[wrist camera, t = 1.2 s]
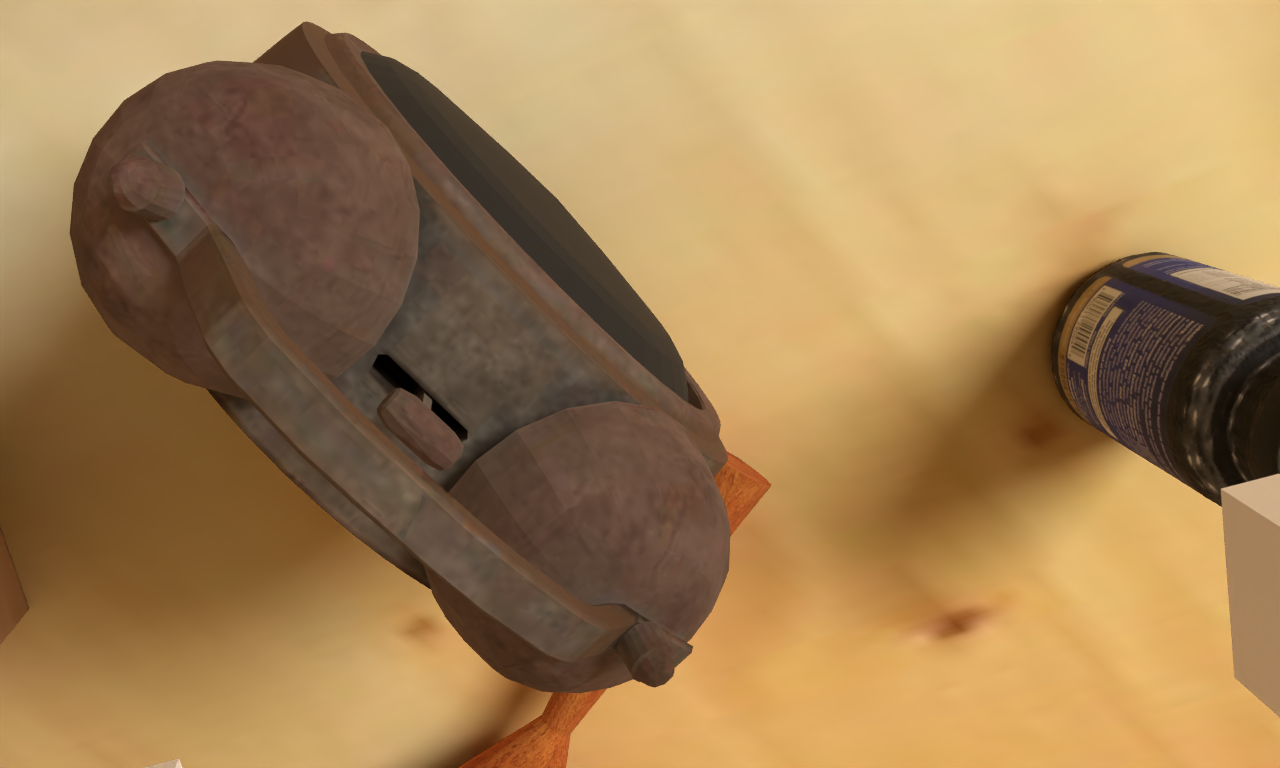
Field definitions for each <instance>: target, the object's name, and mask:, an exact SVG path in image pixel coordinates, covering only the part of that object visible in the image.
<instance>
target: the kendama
mask: <svg viewBox="0 0 1280 768" xmlns="http://www.w3.org/2000/svg"><path fill="white" fill-rule="evenodd" d="M726 453H727V456H728V461H727V462H726V464H725V465H724V466H723V467H722V468H721V470H720V471H719V472H718V473H717V474H716V476H715V477H714V479H715V482H716V484H717V486H718V488H719V491H720V493H721V495H722V498H723V500H724V502H725V505H726V509H727V514H728V519H729V524H730V536H731V535H732V533H733V532H734V531H735V530H736V528H737V527H738V526H739V525H740V523H741V522H742V521H743V520H744V519H745V517H746V516H747V515H748V514H749V512H750V511H751V510H752V509H753V507H754V506H755V505H756V504H757V503H758V501H759V500H760V499H761V498H762V496H763V495H764V494H765V493H766V491H767V490H768V489H769V488H770V486H771V484H770V483H769V482H768V481H767V479H766V478H764V477H763V476H762V475H761V474H759V473H758V472H757V471H756V470H754V469H753V468H752V467H750V466H749V465H747V464H746V463H744V462H743V461H742V460H740V459H739V458H737V457H735V456H734V455H732V454H730V453H729V452H727V451H726ZM606 689H607V688H606ZM606 689H601V690H596V691H591V692H585V693H558V692H553V694H552V696H551V698H550V700H549V702H548V704H547V706H546V708H545V710H544V712H543V714H542V715H541V716H540V717H538V718H537V719H535V720H533V721H532V722H530V723H529V724H527V725H525V726H524V727H522V728H521V729H519V730H517V731H516V732H514V733H513V734H511V735H509V736H508V737H506V738H505V739H503V740H501V741H500V742H498V743H497V744H495V745H493V746H492V747H490V748H489V749H487V750H485V751H484V752H482V753H481V754H479V755H477V756H476V757H474V758H473V759H471V760H469V761H468V762H466V763H465V764H463V765H461V766H460V767H458V768H566V763H567V756H568V748H569V741H570V733H571V732H572V731H573V730H574V728H575V727H576V726H577V725H578V724H579V722H580V721H581V720H582V719H583V717H584V716H585V715H586V714H587V712H588V711H589V710H590V709H591V707H592V706H593V705H594V704H595V703H596V701H597V700H598V699H599V698H600V696H601V695H602V694H603V693H604V691H605V690H606Z"/></svg>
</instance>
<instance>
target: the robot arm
mask: <svg viewBox="0 0 1280 768" xmlns="http://www.w3.org/2000/svg"><path fill="white" fill-rule="evenodd" d="M1221 499H1222V513H1223V527H1224V541H1225V554H1226V568H1227V582H1228V595H1229V609H1230V623H1231V636H1232V650H1233V664H1234V677H1235V678H1236V679H1237V680H1238V681H1239V682H1240V683H1241V684H1243V685H1244V686H1245V687H1246V688H1247V689H1248V690H1249V691H1251V692H1252V693H1253V694H1254V695H1255V696H1256V697H1257V698H1258V699H1260V700H1261V701H1262V702H1263V703H1264V704H1265V705H1266V706H1267V707H1269V708H1270V709H1271V710H1272V711H1273V712H1274V713H1275V714H1277V715H1278V716H1279V717H1280V474H1276V475H1272V476H1268V477H1264V478H1260V479H1256V480H1253V481H1249V482H1245V483H1241V484H1237V485H1233V486H1229V487H1226V488H1222V489H1221ZM144 768H183V767H182V765H181V762H180V760H179V759H175V760H171V761H167V762H163V763H160V764H156V765H152V766H148V767H144Z"/></svg>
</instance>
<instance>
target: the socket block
mask: <svg viewBox="0 0 1280 768" xmlns="http://www.w3.org/2000/svg"><path fill="white" fill-rule="evenodd" d="M28 609H29V607H28V604H27V602H26V599H25V596H24V593H23V590H22V588H21V585H20V582H19V579H18V577H17V574H16V571H15V568H14V565H13V563H12V560H11V557H10V554H9V551H8V549H7V546H6V543H5V540H4V538H3V535H2V532H1V529H0V644H1V643H2V642H3V641H4V639H5V638H6V637H7V636H8V634H9V633H10V632H11V630H12V629H13V628H14V627H15V625H16V624H17V623H18V622H19V620H20V619H21V618H22V617H23V615H24V614H25V613H26V612H27V610H28Z"/></svg>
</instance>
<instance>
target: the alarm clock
mask: <svg viewBox="0 0 1280 768" xmlns="http://www.w3.org/2000/svg"><path fill="white" fill-rule="evenodd" d="M70 237H71V241H72V245H73V250H74V254H75V258H76V263H77V267H78V271H79V276H80V280H81V285H82V287H83V288H84V290H85V291H86V293H87V294H88V296H89V298H90V299H91V301H92V302H93V304H94V305H95V307H96V308H97V310H98V312H99V313H100V315H101V316H102V318H103V319H104V321H105V323H106V324H107V326H108V327H109V328H110V330H111V331H112V332H113V334H114V335H116V336H117V337H118V338H120V339H121V340H122V341H124V342H125V343H126V344H128V345H129V346H130V347H132V348H133V349H134V350H136V351H137V352H138V353H140V354H141V355H142V356H144V357H145V358H146V359H148V360H149V361H150V362H152V363H153V364H155V365H156V366H157V367H159V368H160V369H161V370H163V371H164V372H165V373H167V374H169V375H171V376H173V377H175V378H177V379H179V380H181V381H184V382H186V383H189V384H192V385H196V386H200V387H203V388H206V389H207V390H208V391H209V393H210V394H211V395H212V396H213V397H214V399H215V400H216V401H217V402H218V403H219V405H220V406H221V407H222V408H223V409H224V410H225V412H226V413H227V414H228V415H229V416H230V417H231V418H232V419H233V420H234V422H235V423H236V424H237V425H238V426H239V427H240V428H241V429H242V430H243V432H244V433H245V434H246V435H247V436H248V437H249V438H250V439H251V440H252V441H253V442H254V443H255V444H256V445H257V446H258V447H259V448H260V449H261V450H262V451H263V452H264V453H265V454H266V455H267V457H268V458H269V459H270V460H271V461H272V462H273V463H274V464H275V465H276V466H277V467H278V468H279V469H280V470H281V471H282V472H283V473H284V474H285V475H286V476H287V477H288V478H290V479H291V480H292V481H293V482H294V483H295V484H296V485H297V486H298V487H299V488H301V489H302V490H303V491H304V492H305V493H306V494H307V495H308V496H309V497H310V498H312V499H313V500H314V501H315V502H316V503H317V504H318V505H319V506H320V507H321V508H323V509H324V510H325V511H326V512H327V513H328V514H329V515H330V516H332V517H333V518H334V519H335V520H336V521H338V522H339V523H340V524H341V525H342V526H344V527H345V528H346V529H347V530H349V531H350V532H351V533H352V534H353V535H355V536H356V537H357V538H358V539H360V540H361V541H362V542H364V543H365V544H366V545H367V546H369V547H370V548H371V549H373V550H374V551H375V552H377V553H378V554H379V555H381V556H382V557H383V558H385V559H386V560H387V561H389V562H390V563H392V564H393V565H395V566H396V567H397V568H399V569H400V570H402V571H403V572H405V573H406V574H407V575H409V576H410V577H412V578H413V579H415V580H417V581H418V582H420V583H421V584H423V585H425V586H426V587H428V588H429V589H431V590H432V593H433V596H434V598H435V599H436V601H437V603H438V604H439V606H440V608H441V610H442V611H443V613H444V615H445V617H446V618H447V620H448V621H449V622H450V623H451V625H452V626H453V627H454V628H455V630H456V631H457V632H458V633H459V635H460V636H461V637H462V638H463V640H464V641H465V642H466V643H467V644H468V645H469V646H470V647H471V648H472V649H473V650H474V651H475V652H476V653H477V654H478V655H479V656H480V657H481V658H482V659H483V660H484V661H486V662H487V663H488V664H489V665H490V666H491V667H492V668H493V669H494V670H495V671H497V672H498V673H500V674H501V675H502V676H504V677H505V678H507V679H510V680H512V681H515V682H518V683H520V684H523V685H526V686H528V687H531V688H534V689H537V690H540V691H542V692H558V693H585V692H591V691H596V690H601V689H606V688H611V687H614V686H617V685H620V684H622V683H625V682H627V681H630V680H632V679H634V680H636V681H638V682H642V683H644V684H646V685H648V686H651V687H657V686H660V685H663V684H665V683H666V682H667V681H668V680H669V679H670V678H671V677H672V676H673V674H674V668H675V667H676V666H677V665H678V664H679V663H681V662H682V661H683V660H684V659H685V658H686V657H687V656H688V655H689V654H691V653H692V648H693V646H691V645H689V644H688V643H687V642H688V641H689V640H690V639H691V638H692V637H693V635H694V634H695V633H696V631H697V630H698V629H699V627H700V626H701V625H702V623H703V622H704V621H705V619H706V618H707V617H708V615H709V614H710V613H711V611H712V609H713V607H714V605H715V602H716V600H717V598H718V596H719V593H720V591H721V589H722V587H723V584H724V582H725V579H726V576H727V573H728V571H729V555H730V524H729V519H728V514H727V509H726V505H725V502H724V500H723V498H722V495H721V493H720V491H719V488H718V486H717V484H716V482H715V479H714V477H715V476H716V474H717V473H718V472H719V471H720V470H721V468H722V467H723V466H724V465H725V464H726V462H727V461H728V456H727V453H726V450H725V448H724V446H723V444H722V442H721V440H720V438H719V432H720V420H719V417H718V415H717V413H716V411H715V409H714V407H713V406H712V404H711V403H710V401H709V400H708V398H707V397H706V395H705V394H704V393H703V391H702V390H701V388H700V387H699V385H698V384H697V383H696V382H695V380H694V379H693V378H692V376H691V375H690V374H689V373H688V371H687V370H686V369H685V367H684V365H683V361H682V359H681V357H680V355H679V353H678V351H677V349H676V347H675V345H674V343H673V342H672V340H671V338H670V336H669V335H668V333H667V332H666V330H665V329H664V327H663V326H662V324H661V323H660V322H659V321H658V319H657V318H656V317H655V316H654V314H653V313H652V312H651V311H650V309H649V308H648V307H647V305H646V304H645V303H644V302H643V301H642V299H641V298H640V297H639V296H638V294H637V293H636V292H635V291H634V290H633V288H632V287H631V286H630V285H629V283H628V282H627V281H626V280H625V278H624V277H623V276H622V275H621V274H620V272H619V271H618V270H617V269H616V267H615V266H614V265H613V264H612V262H611V261H610V260H609V259H608V258H607V256H606V255H605V254H604V253H603V251H602V250H601V249H600V248H599V247H598V246H597V245H596V243H595V242H594V241H593V240H592V239H591V238H590V236H589V235H588V234H587V233H586V232H585V231H584V229H583V228H582V227H581V226H580V225H579V224H578V223H577V221H576V220H575V219H574V218H573V217H572V216H571V214H570V213H569V212H568V211H567V210H566V209H565V207H564V206H563V205H562V204H561V203H560V202H559V200H558V199H557V198H556V197H555V196H554V195H553V194H551V193H550V192H549V191H548V190H547V189H546V188H545V187H544V186H543V185H542V184H541V183H540V182H539V181H538V180H537V179H536V178H535V177H534V176H533V175H532V174H531V173H530V172H528V171H527V170H526V169H525V168H524V167H523V166H522V165H521V164H520V163H519V162H518V161H517V160H516V159H515V158H514V157H513V156H512V155H511V154H510V153H509V152H507V151H506V150H505V149H504V148H503V147H502V146H501V145H500V144H499V143H497V142H496V141H495V140H494V139H493V138H492V137H491V136H490V135H489V134H488V133H486V132H485V131H484V130H483V129H482V128H481V127H480V126H479V125H478V124H476V123H475V122H474V121H473V120H472V119H471V118H470V117H469V116H468V115H466V114H465V113H464V112H463V111H462V110H461V109H460V108H459V107H458V106H456V105H455V104H454V103H453V102H452V101H451V100H450V99H449V98H448V97H446V96H445V95H444V94H443V93H442V92H441V91H440V90H439V89H437V88H436V87H435V86H434V85H433V84H431V83H430V82H429V81H427V80H426V79H425V78H424V77H422V76H421V75H420V74H419V73H417V72H415V71H414V70H412V69H410V68H409V67H407V66H405V65H403V64H402V63H400V62H398V61H397V60H395V59H393V58H389V57H385V56H382V55H380V54H379V53H378V52H377V51H375V50H374V49H373V48H371V47H370V46H369V45H367V44H366V43H364V42H363V41H362V40H360V39H358V38H357V37H355V36H353V35H351V34H348V33H337V34H331V33H329V32H328V31H326V30H324V29H323V28H321V27H319V26H317V25H315V24H313V23H310V22H303V23H302V24H301V25H299V26H298V27H297V28H295V29H294V30H293V31H291V32H290V33H289V34H287V35H286V36H285V37H284V38H282V39H281V40H280V41H279V42H277V43H276V44H275V45H274V46H273V47H271V48H270V49H269V50H268V51H267V52H265V53H264V54H263V55H262V56H260V57H259V58H258V59H257V60H256V61H254V62H253V63H247V62H231V61H212V62H206V63H203V64H199V65H195V66H192V67H188V68H184V69H181V70H177V71H173V72H170V73H166V74H164V75H163V76H161V77H160V78H158V79H156V80H155V81H153V82H152V83H150V84H149V85H147V86H146V87H144V88H143V89H141V90H139V91H138V92H136V93H135V94H133V95H132V96H130V97H129V98H127V99H126V100H124V101H123V103H122V104H121V105H120V106H119V107H118V109H117V110H116V111H115V112H114V114H113V115H112V116H111V117H110V118H109V120H108V121H107V122H106V123H105V124H104V126H103V127H102V128H101V129H100V131H99V132H98V133H97V134H96V135H95V137H94V138H93V140H92V142H91V145H90V147H89V149H88V152H87V154H86V157H85V159H84V161H83V164H82V166H81V169H80V171H79V173H78V176H77V178H76V181H75V183H74V191H73V202H72V213H71V224H70Z"/></svg>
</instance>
